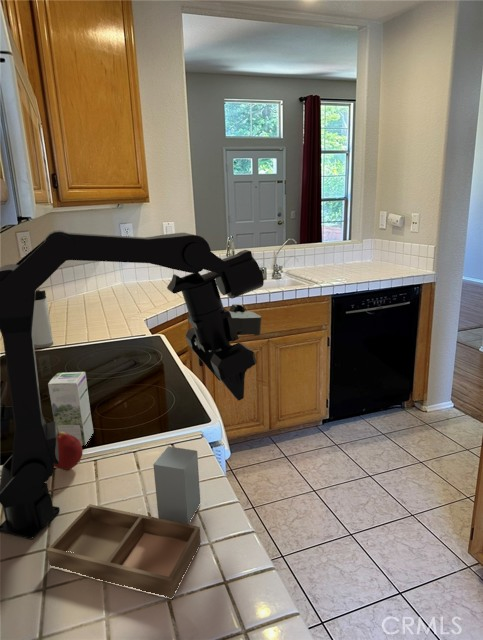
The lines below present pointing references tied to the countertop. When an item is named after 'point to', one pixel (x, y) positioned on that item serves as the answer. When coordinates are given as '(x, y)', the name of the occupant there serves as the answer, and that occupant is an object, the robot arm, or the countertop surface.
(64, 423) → the syrup box
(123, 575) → the slot holder
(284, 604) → the countertop surface
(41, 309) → the travel mug
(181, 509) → the grey tall block
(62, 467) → the onion
